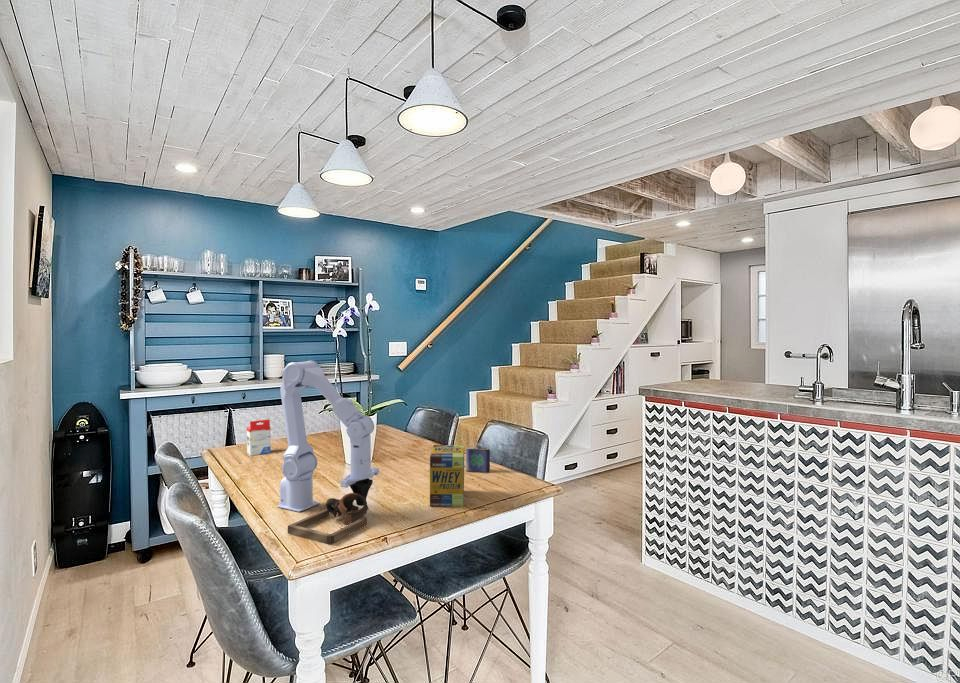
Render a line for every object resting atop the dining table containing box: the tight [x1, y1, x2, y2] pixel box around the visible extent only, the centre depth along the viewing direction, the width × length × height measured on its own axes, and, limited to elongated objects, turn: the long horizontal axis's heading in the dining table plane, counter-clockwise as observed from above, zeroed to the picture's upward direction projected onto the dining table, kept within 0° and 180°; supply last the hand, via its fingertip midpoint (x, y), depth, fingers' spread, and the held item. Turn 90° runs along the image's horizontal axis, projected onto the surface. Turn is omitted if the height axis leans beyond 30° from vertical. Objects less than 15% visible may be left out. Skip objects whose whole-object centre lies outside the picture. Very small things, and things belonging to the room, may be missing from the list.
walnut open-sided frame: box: [287, 508, 368, 545], centre depth 133 cm, size 15×14×2 cm
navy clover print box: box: [465, 442, 491, 474], centre depth 188 cm, size 9×3×11 cm, turn 79°
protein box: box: [429, 444, 465, 507], centre depth 158 cm, size 10×15×16 cm
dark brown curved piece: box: [324, 492, 369, 526], centre depth 140 cm, size 12×10×8 cm
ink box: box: [246, 419, 272, 457], centre depth 213 cm, size 8×5×15 cm, turn 130°
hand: (360, 505), depth 145 cm, fingers closed
